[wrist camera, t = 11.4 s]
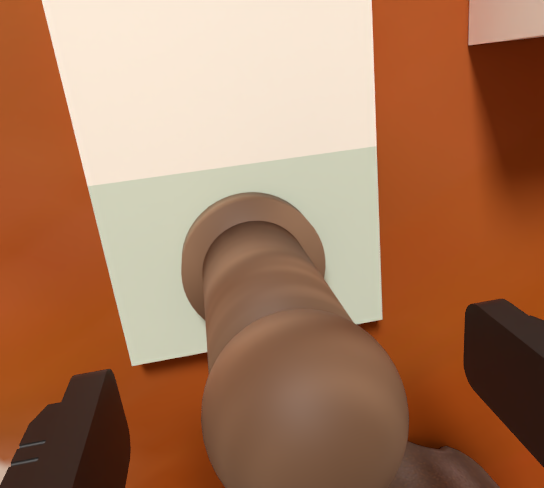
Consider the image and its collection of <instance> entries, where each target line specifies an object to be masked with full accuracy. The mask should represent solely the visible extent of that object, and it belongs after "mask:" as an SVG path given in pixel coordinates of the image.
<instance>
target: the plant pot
mask: <svg viewBox="0 0 544 488" xmlns="http://www.w3.org/2000/svg"><path fill="white" fill-rule="evenodd" d="M388 488H500V487H499V486H498V485H497V484H496V483H495V482H494V481H493V479H492V478H491V477H490V476H489V475H488V474H487V473H486V471H485V470H484V469H483V468H482V467H481V466H480V465H478V464H477V463H476V462H475V461H474V460H473V459H471V458H470V457H469V456H467V455H465V454H464V453H462V452H460V451H459V450H456V449H453V448H450V447H448V446H444V447H441V448H440V449H434V448H429V447H424V446H420V445H417V444H414V443H412V442H409V441H407V445H406V449H405V453H404V457H403V460H402V462H401V465H400V467H399V469H398V471H397V473H396V475H395V477H394V479H393V481H392V482H391V484H390V485H389V487H388Z"/></svg>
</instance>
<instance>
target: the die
mask: <svg viewBox="0 0 544 488" xmlns="http://www.w3.org/2000/svg"><path fill="white" fill-rule="evenodd" d="M537 37H544V0H469V34H468V45H476V44H485V43H493V42H502V41H511V40H520V39H528V38H537Z"/></svg>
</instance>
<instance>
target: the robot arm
mask: <svg viewBox="0 0 544 488" xmlns="http://www.w3.org/2000/svg"><path fill="white" fill-rule="evenodd" d="M464 370H465V374H466V377H467V379H468V382H469V384H470V385H471V387H472V388H473V390H474V391H475V392H476V393H477V394H478V395H479V396H480V398H481V399H482V400H483V401H484V402H485V403H486V404H487V405H488V406H489V407H490V409H491V410H492V411H493V412H494V413H495V414H496V415H497V416H498V417H499V419H500V420H501V421H502V422H503V423H504V424H505V425H506V426H507V427H508V428H509V430H510V431H511V432H512V433H513V434H514V435H515V436H516V437H517V438H518V439H519V441H520V442H521V443H522V444H523V445H524V446H525V447H526V448H527V449H528V451H529V452H530V453H531V454H532V455H533V456H534V457H535V458H536V459H537V460H538V462H539V463H540V464H541V465H542V466H543V467H544V320H541V319H539V318H536V317H533V316H531V315H530V316H528V315H527V314H526V313H524V312H523V311H521V310H520V309H518V308H517V307H516V306H514V305H513V304H511V303H510V302H508V301H507V300H505V299H496V300H491V301H485V302H480V303H474V304H470V305H469V306H468V307H467V309H466V312H465V333H464ZM19 446H20V448H19V449H17V451H16V453H15V455H14V457H13V459H12V461H11V467H9V468H8V470H7V472H6V474H5V476H4V478H3V480H2V482H1V485H0V488H125V485H126V479H127V473H128V467H129V461H130V435H129V429H128V425H127V421H126V417H125V413H124V410H123V406H122V402H121V398H120V395H119V391H118V387H117V383H116V380H115V376H114V374H113V372H112V370H111V369H106V370H100V371H95V372H89V373H84V374H78V375H74V376H72V378H71V380H70V382H69V385H68V387H67V389H66V392H65V394H64V397H63V399H62V402H60V403H55V404H49V405H47V406H46V407H45V408H44V409H43V411H42V412H41V413H40V414H39V415H38V416H37V417H36V418H35V419H34V420H33V421H32V422H31V423H30V424H29V426H28V428H27V430H26V432H25V434H24V436H23V438H22V440H21V442H20V445H19Z"/></svg>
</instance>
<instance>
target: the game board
mask: <svg viewBox="0 0 544 488" xmlns="http://www.w3.org/2000/svg"><path fill="white" fill-rule="evenodd" d="M42 3H43V7H44V11H45V15H46V19H47V23H48V27H49V31H50V35H51V39H52V43H53V47H54V51H55V56H56V60H57V64H58V68H59V72H60V76H61V80H62V84H63V88H64V92H65V96H66V100H67V104H68V108H69V112H70V116H71V120H72V124H73V129H74V133H75V137H76V141H77V145H78V149H79V153H80V157H81V161H82V165H83V169H84V173H85V177H86V181H87V185H88V189H89V193H90V198H91V202H92V206H93V210H94V214H95V218H96V222H97V226H98V230H99V234H100V238H101V242H102V246H103V250H104V254H105V258H106V262H107V266H108V271H109V275H110V279H111V283H112V287H113V291H114V295H115V299H116V303H117V307H118V311H119V315H120V319H121V323H122V327H123V331H124V335H125V339H126V344H127V348H128V352H129V356H130V360H131V364H132V366H135V365H140V364H146V363H151V362H157V361H162V360H167V359H173V358H178V357H183V356H189V355H194V354H200V353H205V352H207V338H206V323H205V320H204V319H203V318H202V317H201V316H200V315H199V314H198V313H197V312H196V311H195V310H194V308H193V307H192V306H191V304H190V302H189V301H188V299H187V296H186V294H185V292H184V288H183V284H182V277H181V264H182V250H183V244H184V241H185V238H186V235H187V233H188V231H189V229H190V227H191V226H192V224H193V223H194V221H195V220H196V219H197V217H198V216H199V215H200V214H201V213H202V212H203V211H204V210H205V209H207V208H208V207H209V206H211V205H212V204H214V203H215V202H217V201H219V200H221V199H223V198H225V197H228V196H231V195H234V194H239V193H246V192H260V193H266V194H271V195H274V196H277V197H279V198H281V199H283V200H286V201H287V202H289V203H290V204H292V205H293V206H294V207H296V208H297V209H298V210H299V211H300V212H301V213H302V214H303V216H304V217H305V218H306V219H307V220H308V221H309V223H310V224H311V225H312V226H313V227H314V229H315V230H316V232H317V234H318V235H319V237H320V240H321V242H322V245H323V248H324V253H325V265H326V268H325V276H324V280H325V281H326V283H327V284H328V286H329V287H330V289H331V290H332V291H333V293H334V294H335V296H336V297H337V299H338V300H339V302H340V303H341V305H342V306H343V308H344V309H345V310H346V312H347V313H348V315H349V316H350V318H351V319H352V321H353V322H354V323H355V324H361V323H366V322H372V321H377V320H382V293H381V264H380V234H379V205H378V175H377V146H376V116H375V87H374V57H373V28H372V0H42Z"/></svg>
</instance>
